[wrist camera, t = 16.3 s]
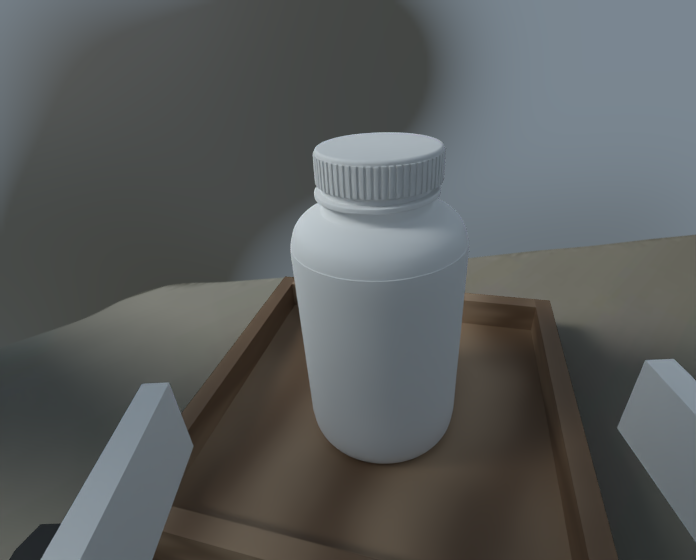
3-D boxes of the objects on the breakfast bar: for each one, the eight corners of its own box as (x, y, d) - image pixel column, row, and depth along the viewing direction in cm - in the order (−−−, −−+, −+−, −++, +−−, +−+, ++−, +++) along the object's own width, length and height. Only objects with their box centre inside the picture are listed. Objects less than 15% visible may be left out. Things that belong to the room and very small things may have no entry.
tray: (127, 551, 19) (104, 515, 17) (289, 306, 35) (285, 276, 34) (618, 699, 14) (646, 666, 12) (541, 334, 30) (549, 300, 29)
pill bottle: (428, 353, 28) (442, 118, 20) (473, 458, 21) (521, 161, 13) (311, 368, 27) (279, 132, 19) (317, 480, 20) (272, 184, 13)
